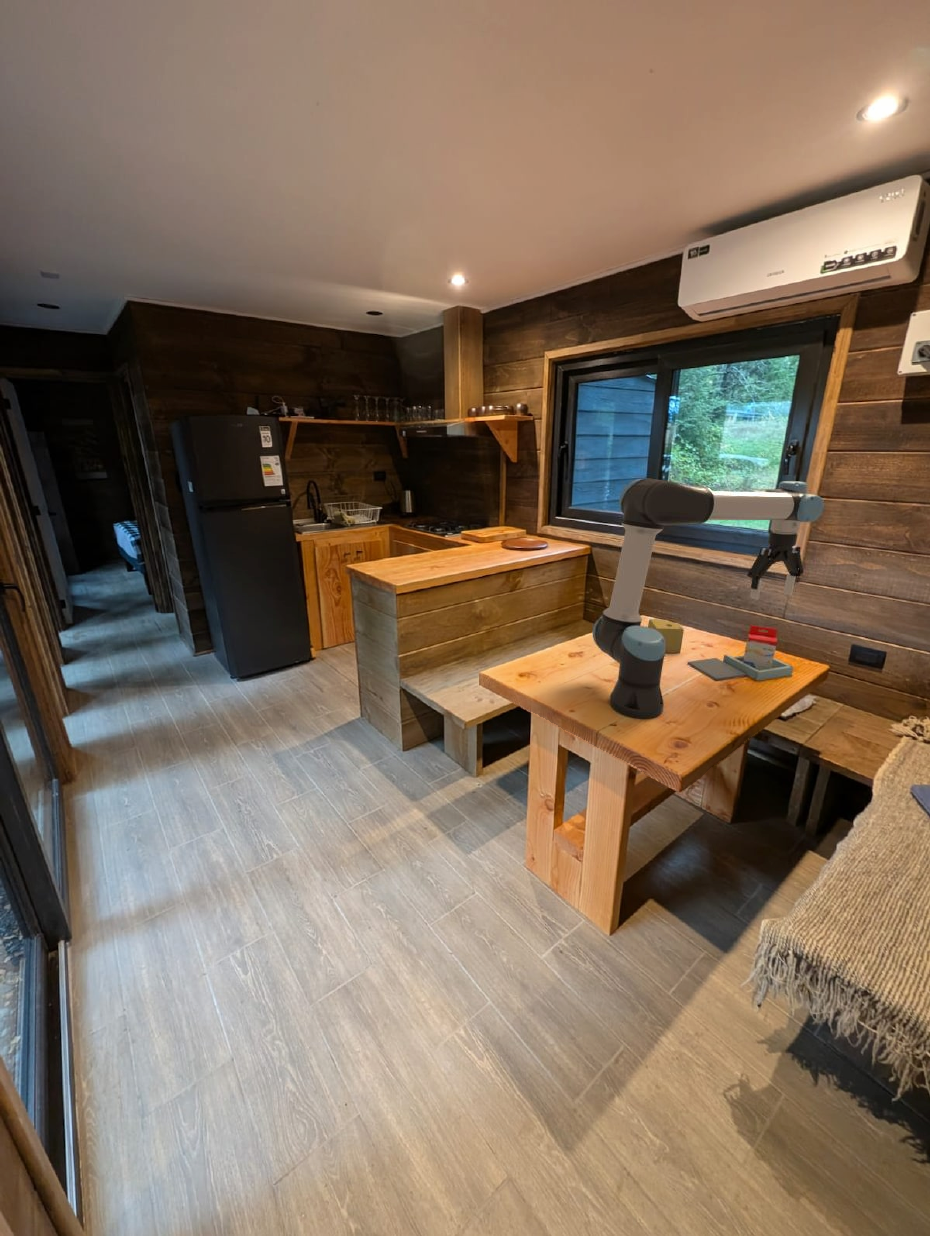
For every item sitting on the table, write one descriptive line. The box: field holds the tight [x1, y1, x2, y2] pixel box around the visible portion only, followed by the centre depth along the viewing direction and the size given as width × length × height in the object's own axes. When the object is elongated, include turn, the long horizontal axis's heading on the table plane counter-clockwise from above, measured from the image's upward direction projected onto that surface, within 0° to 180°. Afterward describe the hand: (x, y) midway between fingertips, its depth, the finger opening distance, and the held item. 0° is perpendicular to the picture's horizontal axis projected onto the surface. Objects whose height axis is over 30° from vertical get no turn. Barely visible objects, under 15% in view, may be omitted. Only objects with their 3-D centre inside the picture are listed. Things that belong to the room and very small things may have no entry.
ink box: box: [742, 625, 778, 670], centre depth 171 cm, size 8×5×15 cm, turn 62°
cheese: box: [647, 618, 685, 654], centre depth 190 cm, size 10×11×10 cm
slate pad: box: [687, 657, 747, 682], centre depth 173 cm, size 12×14×1 cm
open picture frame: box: [722, 654, 794, 682], centre depth 173 cm, size 14×15×3 cm
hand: (770, 596), depth 165 cm, fingers open, 13 cm apart
